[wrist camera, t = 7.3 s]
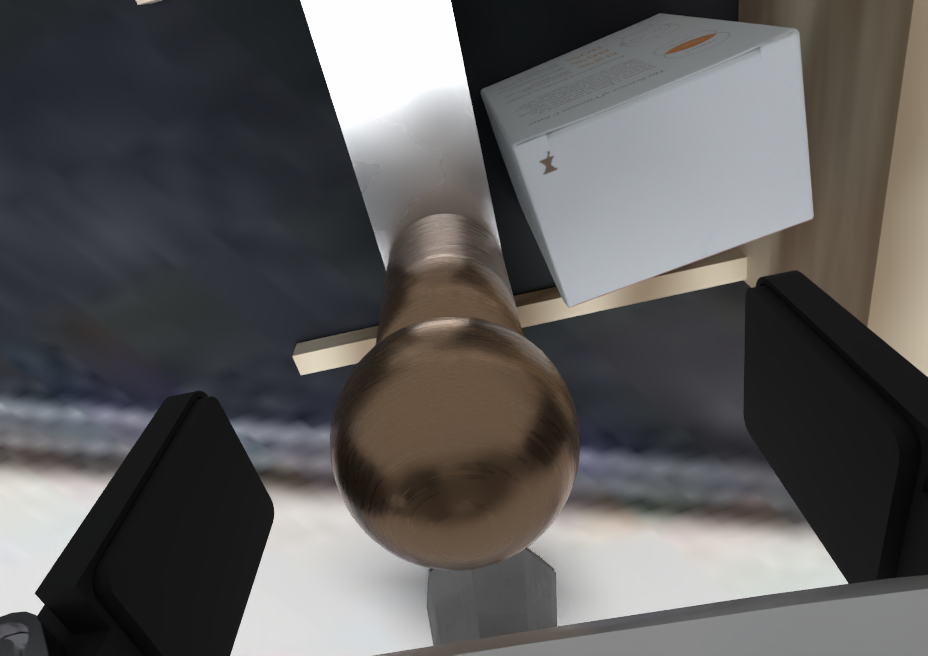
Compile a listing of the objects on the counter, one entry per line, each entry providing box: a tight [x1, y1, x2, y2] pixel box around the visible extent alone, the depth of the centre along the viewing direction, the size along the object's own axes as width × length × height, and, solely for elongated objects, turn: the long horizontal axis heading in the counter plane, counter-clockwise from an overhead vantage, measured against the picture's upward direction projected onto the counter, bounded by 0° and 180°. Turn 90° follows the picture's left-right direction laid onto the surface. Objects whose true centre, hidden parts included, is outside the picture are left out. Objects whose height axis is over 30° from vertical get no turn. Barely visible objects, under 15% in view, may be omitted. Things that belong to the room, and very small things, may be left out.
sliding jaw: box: [301, 0, 580, 571], centre depth 17 cm, size 4×19×20 cm, turn 12°
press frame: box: [136, 0, 928, 377], centre depth 22 cm, size 26×19×10 cm
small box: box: [480, 13, 814, 308], centre depth 21 cm, size 8×6×10 cm
